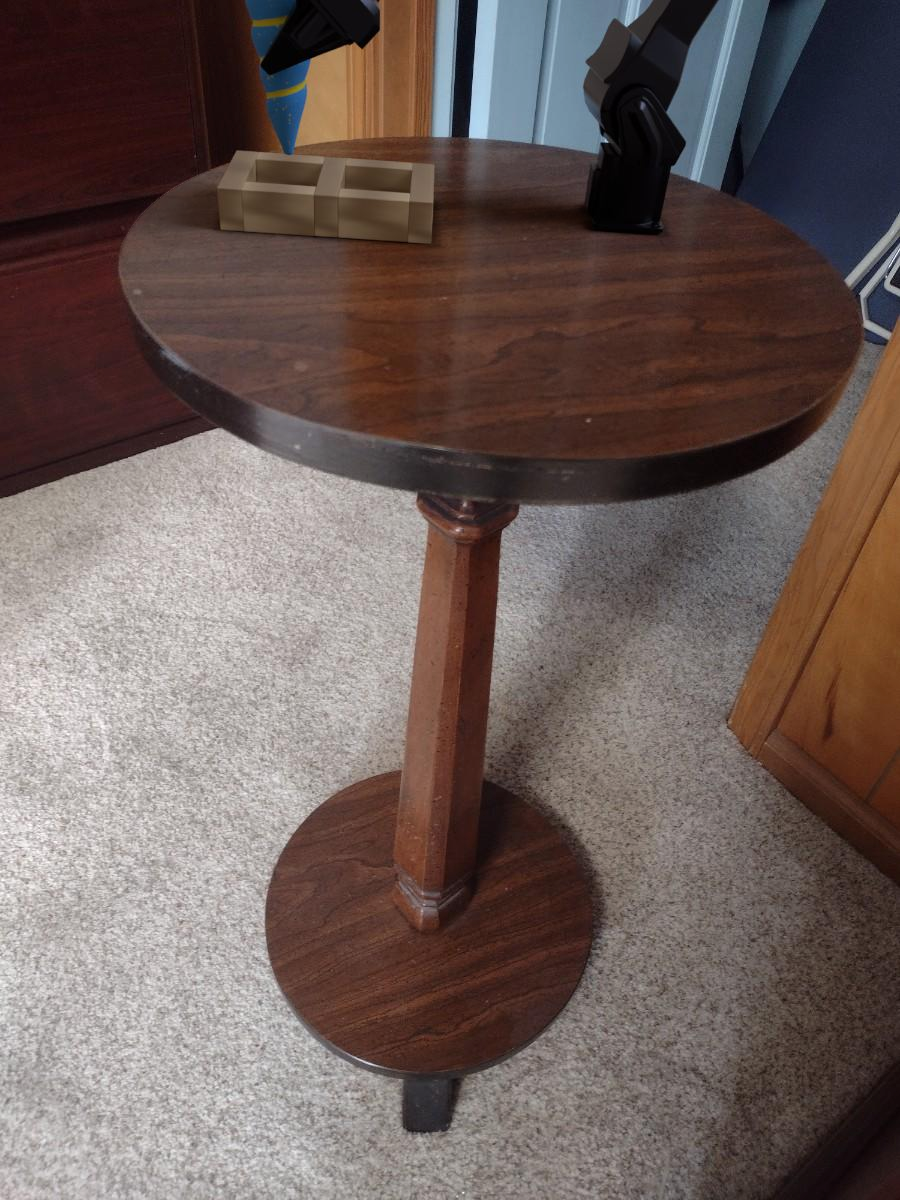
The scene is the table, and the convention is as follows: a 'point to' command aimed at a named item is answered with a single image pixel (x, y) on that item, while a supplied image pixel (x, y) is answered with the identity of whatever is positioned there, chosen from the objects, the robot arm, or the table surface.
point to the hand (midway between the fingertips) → (264, 62)
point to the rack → (327, 197)
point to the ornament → (287, 87)
